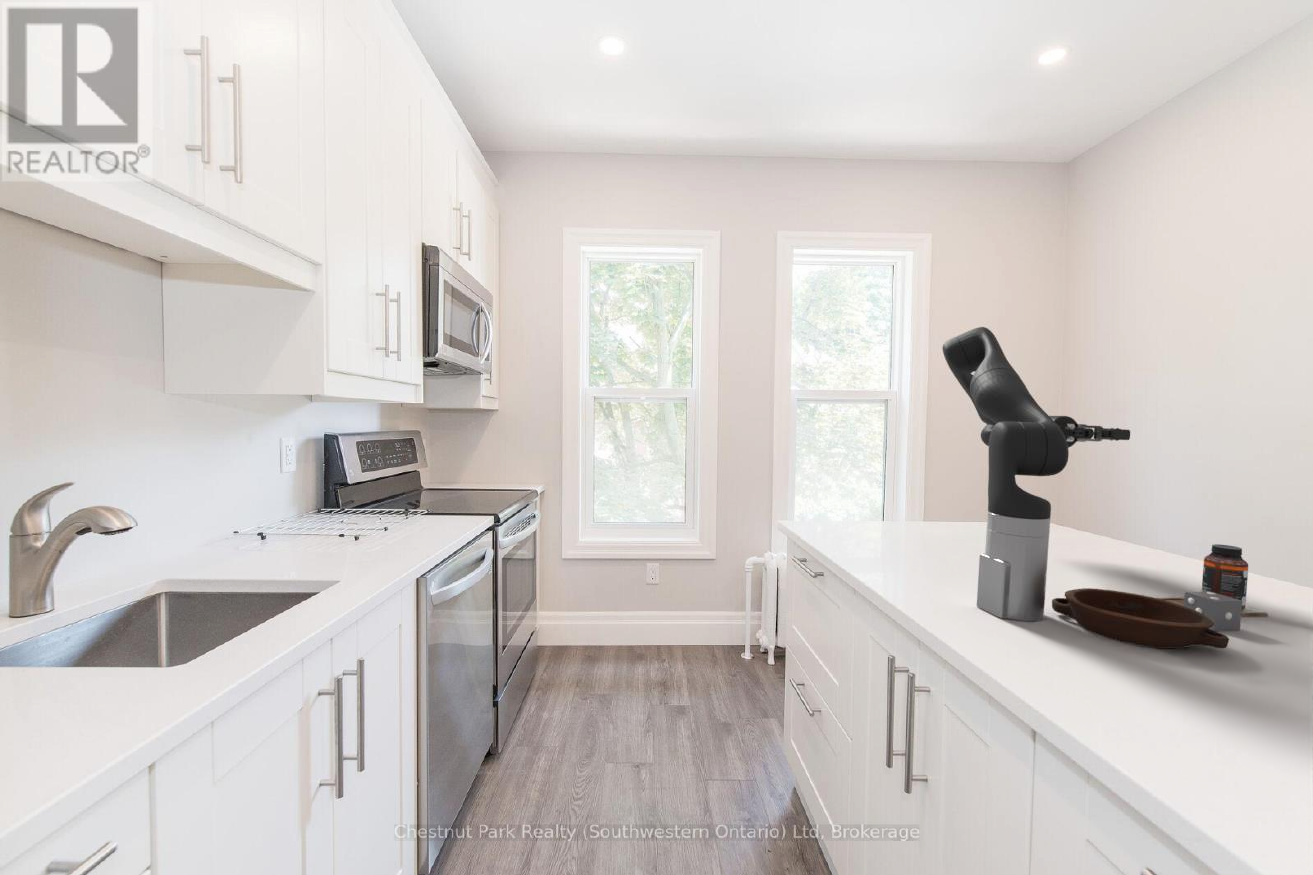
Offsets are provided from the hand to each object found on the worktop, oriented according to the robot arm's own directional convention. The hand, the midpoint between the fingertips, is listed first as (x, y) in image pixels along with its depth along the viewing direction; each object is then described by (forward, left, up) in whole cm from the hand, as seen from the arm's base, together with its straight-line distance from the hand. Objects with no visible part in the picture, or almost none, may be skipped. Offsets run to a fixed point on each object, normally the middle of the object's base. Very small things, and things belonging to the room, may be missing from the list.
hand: (1109, 434), depth 120 cm
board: (+3, -16, -31) cm, 35 cm away
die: (-3, -24, -31) cm, 39 cm away
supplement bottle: (+10, -16, -31) cm, 36 cm away
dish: (-21, -26, -32) cm, 46 cm away
